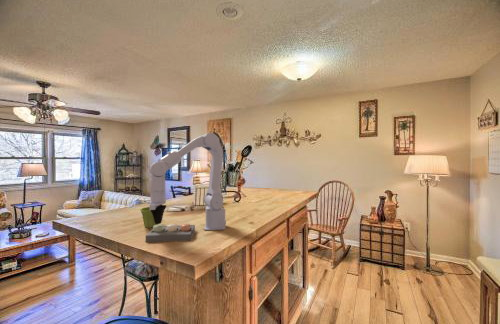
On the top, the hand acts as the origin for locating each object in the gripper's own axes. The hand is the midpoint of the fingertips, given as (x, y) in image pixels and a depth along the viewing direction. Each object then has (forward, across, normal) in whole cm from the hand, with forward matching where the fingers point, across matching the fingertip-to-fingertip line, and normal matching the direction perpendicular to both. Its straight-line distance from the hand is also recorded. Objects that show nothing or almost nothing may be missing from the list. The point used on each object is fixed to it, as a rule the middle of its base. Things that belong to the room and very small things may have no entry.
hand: (158, 223), depth 94 cm
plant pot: (+6, -15, -8) cm, 18 cm away
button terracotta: (+4, 0, +11) cm, 12 cm away
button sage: (+4, 0, 0) cm, 4 cm away
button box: (+5, 0, +6) cm, 8 cm away
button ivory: (+4, 0, +6) cm, 7 cm away
